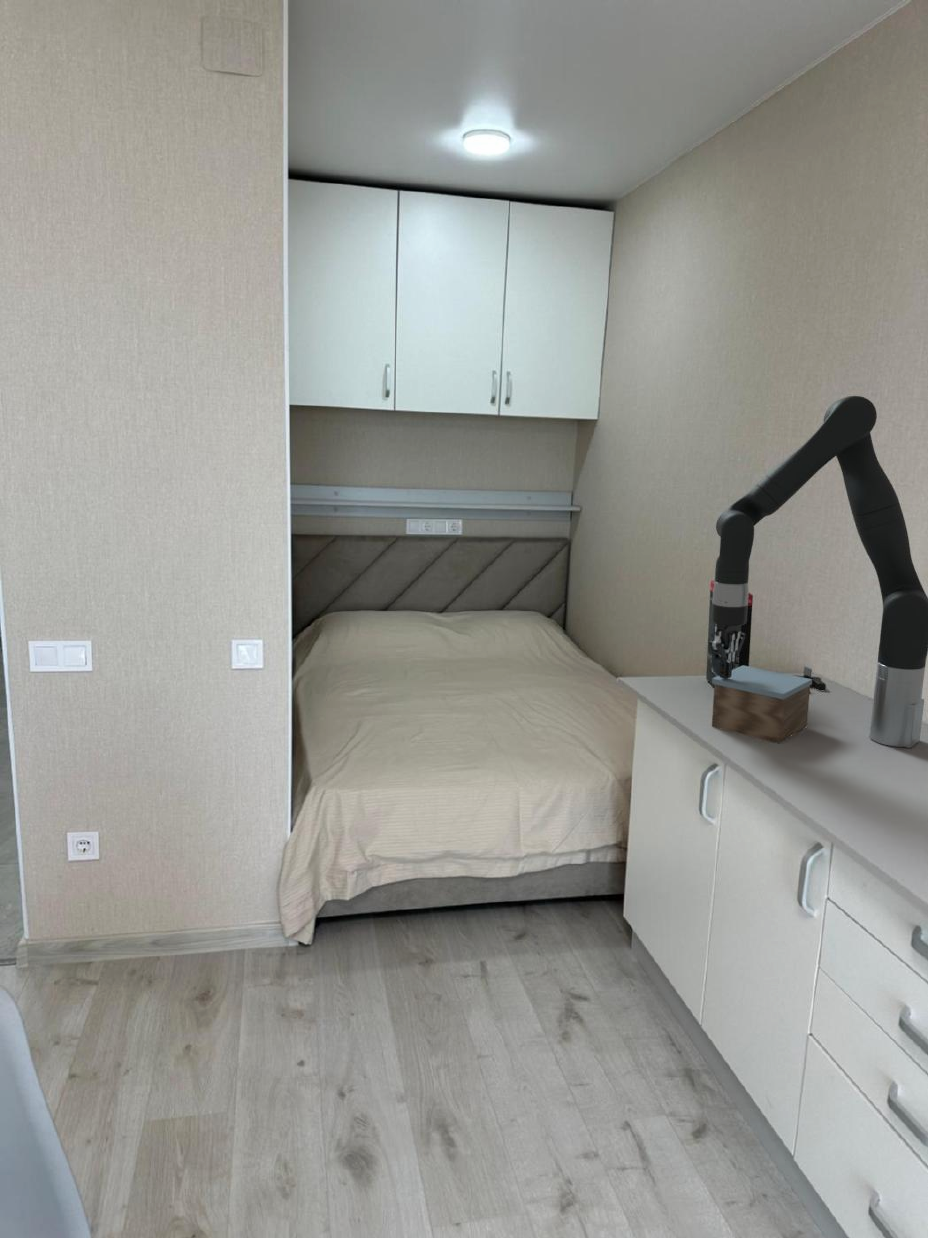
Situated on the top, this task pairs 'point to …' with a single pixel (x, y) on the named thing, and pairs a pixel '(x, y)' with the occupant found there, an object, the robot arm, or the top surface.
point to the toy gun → (813, 679)
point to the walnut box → (760, 713)
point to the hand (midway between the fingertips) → (725, 677)
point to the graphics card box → (713, 664)
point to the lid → (763, 682)
